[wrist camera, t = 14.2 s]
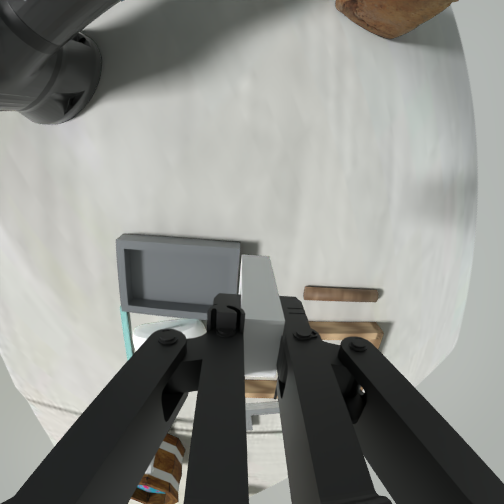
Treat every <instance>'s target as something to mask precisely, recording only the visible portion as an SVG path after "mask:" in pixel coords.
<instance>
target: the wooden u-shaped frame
mask: <svg viewBox="0 0 504 504" xmlns="http://www.w3.org/2000/svg"><path fill="white" fill-rule="evenodd" d="M308 322H309V325H310V327H311V328H312V329H314V330H315V331H317V332H318V333H319V335H320V336H321V339H322V340H343V339H344V338H346V337H351V336H356V337H362V338H364V339H366V340H368V341H369V342H371V343H372V344H373V345H374V346H375V347H376V348H377V349H378V348H379V345H380V343H381V340H382V337H383V334H384V333H383V331H382V330H381V328H380V327H379V325H378V324H377V322H311V321H308ZM276 384H277V381H271V380H245V397H246V398H274V394H275V389H276ZM360 389H361V390H363V388H362V387H361V388H360ZM277 398H278V396H277Z"/></svg>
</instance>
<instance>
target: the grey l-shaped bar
mask: <svg viewBox="0 0 504 504" xmlns="http://www.w3.org/2000/svg"><path fill="white" fill-rule="evenodd" d="M245 406H246V430H253V429H252V418H251V415H264V414H276V413H280V410H279V403H278V401H273V402H261V403H246V404H245Z"/></svg>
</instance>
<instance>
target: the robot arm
mask: <svg viewBox="0 0 504 504" xmlns="http://www.w3.org/2000/svg"><path fill="white" fill-rule="evenodd" d="M120 1H124V0H0V111H18V112H19V113H21V114H22V115H23V116H25V117H26V118H28V119H29V120H31V121H33V122H35V123H38V124H47V125H54V124H60V123H63V122H65V121H67V120H69V119H71V118H72V117H74V116H75V115H76V114H78V113H79V112H80V111H81V110H82V109H83V108H84V107H85V106H86V104H87V103H88V102H89V100H90V99H91V97H92V95H93V94H94V92H95V90H96V87H97V85H98V82H99V79H100V74H101V66H102V62H101V55H100V51H99V49H98V47H97V45H96V44H95V42H94V41H93V40H92V39H90V38H89V37H87V36H86V35H84V34H82V33H80V31H81V30H82V29H84V28H85V27H86V26H87V25H89V24H90V23H91V22H92V21H94V20H95V19H96V18H98V17H99V16H100V15H102V14H103V13H104V12H106V11H107V10H108V9H110V8H111V7H112V6H114V5H115V4H117V3H118V2H120ZM276 370H277V372H278V379H277V384H276V389H275V394H274V399H277V396H278V403H279V410H280V418H281V425H282V433H283V440H284V448H285V455H286V463H287V470H288V478H289V485H290V493H291V501H292V504H392V502H391V501H390V500H389V499H388V498H387V497H385V496H379V495H378V494H377V493H376V491H375V489H374V486H373V483H372V480H371V477H370V474H369V471H368V468H367V465H366V462H365V459H364V457H365V458H366V460H367V461H368V463H369V464H370V466H371V467H372V469H373V470H374V472H375V473H376V475H377V476H378V478H379V479H380V480H381V482H382V483H383V485H384V486H385V488H386V489H387V491H388V492H389V494H390V495H391V497H392V498H393V500H394V501H395V503H396V504H504V484H503V483H502V481H501V480H500V479H499V478H498V477H497V476H496V475H495V474H494V473H493V471H492V470H491V469H490V468H489V467H488V466H487V465H486V464H485V463H484V461H483V460H482V459H481V458H480V457H479V456H478V455H477V454H476V453H475V452H474V451H473V449H472V448H471V447H470V446H469V445H468V444H467V443H466V442H465V441H464V440H463V438H462V437H461V436H460V435H459V434H458V433H457V432H456V431H455V430H454V429H453V428H452V427H451V426H450V425H449V423H448V422H447V421H446V420H445V419H444V418H443V417H442V416H441V415H440V414H439V413H438V412H437V411H436V410H435V409H434V408H433V406H432V405H431V404H430V403H429V402H428V401H427V400H426V399H425V398H424V397H423V396H422V395H421V394H420V393H419V392H418V391H417V390H416V388H415V387H414V386H413V385H412V384H411V383H410V382H409V381H408V380H407V379H406V378H405V377H404V376H403V375H402V374H401V373H400V372H399V371H398V370H397V369H396V368H395V367H394V366H393V365H392V364H391V362H390V361H389V360H388V359H387V358H386V357H385V356H384V355H383V354H382V353H381V352H380V351H379V350H378V349H377V348H376V347H375V346H374V345H373V344H372V343H371V342H369V341H368V340H366V339H364V338H362V337H356V336H351V337H346V338H344V339H343V340H342V341H341V345H336V344H331V343H327V342H324V341H322V339H321V336H320V335H319V333H318V332H317V331H315V330H314V329H312V328H311V327H310V325H309V322H308V319H307V316H306V314H305V311H304V308H303V305H302V302H301V301H299V300H298V299H297V298H296V297H288V296H279V294H278V289H277V285H276V281H275V277H274V273H273V269H272V265H271V261H270V257H269V256H258V255H244V254H242V258H241V270H240V283H239V294H226V293H219V294H218V295H217V296H215V297H214V300H213V306H212V307H210V308H209V309H208V311H207V332H206V333H205V334H203V335H202V336H199V337H195V338H188V339H186V336H185V335H184V334H183V333H182V332H180V331H178V330H175V329H160V330H157V331H155V332H154V333H152V334H151V335H150V336H149V337H148V338H147V340H146V341H145V342H144V343H143V344H142V345H141V346H140V347H139V349H138V350H137V351H136V352H135V353H134V354H133V355H132V357H131V358H130V359H129V360H128V361H127V362H126V363H125V365H124V366H123V367H122V368H121V369H120V370H119V372H118V373H117V374H116V375H115V376H114V377H113V378H112V380H111V381H110V382H109V383H108V384H107V385H106V387H105V388H104V389H103V390H102V391H101V392H100V394H99V395H98V396H97V397H96V398H95V399H94V401H93V402H92V403H91V404H90V405H89V406H88V408H87V409H86V410H85V411H84V412H83V413H82V415H81V416H80V417H79V418H78V419H77V421H76V422H75V423H74V424H73V425H72V426H71V428H70V429H69V430H68V431H67V432H66V434H65V435H64V436H63V437H62V438H61V440H60V441H59V442H58V443H57V444H56V446H55V447H54V448H53V449H52V450H51V452H50V453H49V454H48V455H47V456H46V458H45V459H44V460H43V461H42V463H41V464H40V465H39V466H38V467H37V469H36V470H35V471H34V472H33V474H32V475H31V476H30V477H29V478H28V480H27V481H26V482H25V483H24V485H23V486H22V487H21V488H20V490H19V491H18V492H17V493H16V495H15V496H14V497H12V498H10V499H8V500H7V501H5V502H3V503H1V504H128V502H129V500H130V499H131V497H132V495H133V493H134V492H135V490H136V488H137V486H138V484H139V483H140V481H141V479H142V477H143V476H144V474H145V472H146V470H147V469H148V467H149V465H150V463H151V461H152V460H153V458H154V456H155V454H156V452H157V451H158V449H159V447H160V445H161V443H162V442H163V440H164V438H165V436H166V434H167V433H168V431H169V429H170V427H171V425H172V424H173V422H174V420H175V418H176V416H177V415H178V413H179V411H180V409H181V407H182V406H183V404H184V402H185V400H186V398H187V396H188V392H192V391H198V394H197V401H196V408H195V415H194V423H193V430H192V438H191V446H190V454H189V462H188V471H187V479H186V488H185V497H184V504H249V494H248V467H247V438H246V406H245V376H246V377H275V376H276ZM361 387H362V388H363V389H364V391H365V393H363V392H362V390H361V389H360V388H361ZM363 455H364V456H363Z"/></svg>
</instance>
